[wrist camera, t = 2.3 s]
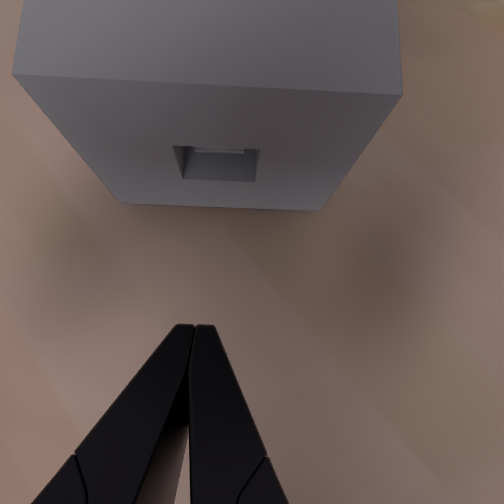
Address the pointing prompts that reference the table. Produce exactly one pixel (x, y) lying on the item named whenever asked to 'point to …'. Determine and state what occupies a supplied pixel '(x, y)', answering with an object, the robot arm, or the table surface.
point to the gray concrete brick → (214, 93)
